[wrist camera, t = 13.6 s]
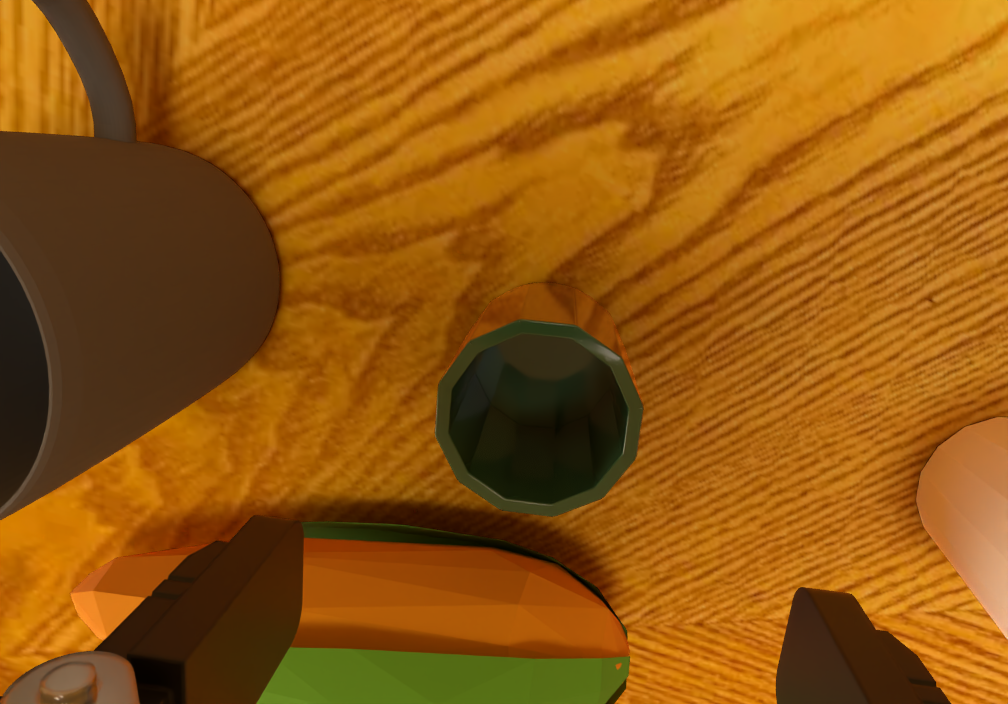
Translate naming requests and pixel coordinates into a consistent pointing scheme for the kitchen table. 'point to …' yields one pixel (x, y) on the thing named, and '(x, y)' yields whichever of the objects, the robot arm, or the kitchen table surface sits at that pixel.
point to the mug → (115, 280)
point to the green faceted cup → (540, 402)
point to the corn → (415, 620)
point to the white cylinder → (972, 510)
